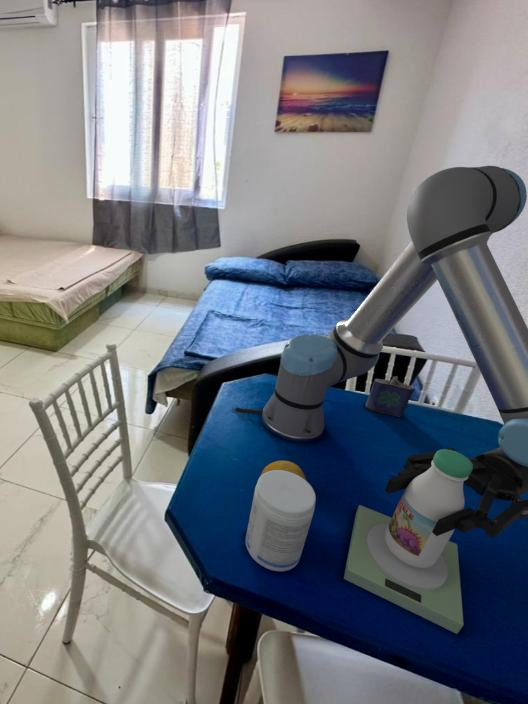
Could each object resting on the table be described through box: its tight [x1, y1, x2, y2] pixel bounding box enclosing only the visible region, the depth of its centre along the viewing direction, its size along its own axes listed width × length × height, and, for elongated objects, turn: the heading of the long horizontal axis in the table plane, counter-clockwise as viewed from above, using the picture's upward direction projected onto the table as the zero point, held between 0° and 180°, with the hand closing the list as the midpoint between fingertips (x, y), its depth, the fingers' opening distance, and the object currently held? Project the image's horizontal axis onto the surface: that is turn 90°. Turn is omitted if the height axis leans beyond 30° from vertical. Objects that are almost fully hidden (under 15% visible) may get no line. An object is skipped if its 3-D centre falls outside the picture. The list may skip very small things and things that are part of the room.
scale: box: [343, 504, 465, 635], centre depth 70 cm, size 16×16×3 cm
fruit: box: [260, 460, 307, 481], centre depth 82 cm, size 9×8×8 cm
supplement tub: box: [245, 470, 317, 572], centre depth 69 cm, size 10×10×15 cm
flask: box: [365, 375, 414, 418], centre depth 109 cm, size 9×3×11 cm, turn 65°
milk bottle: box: [385, 448, 473, 568], centre depth 64 cm, size 8×8×20 cm
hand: (412, 505), depth 61 cm, fingers closed on milk bottle, 7 cm apart
